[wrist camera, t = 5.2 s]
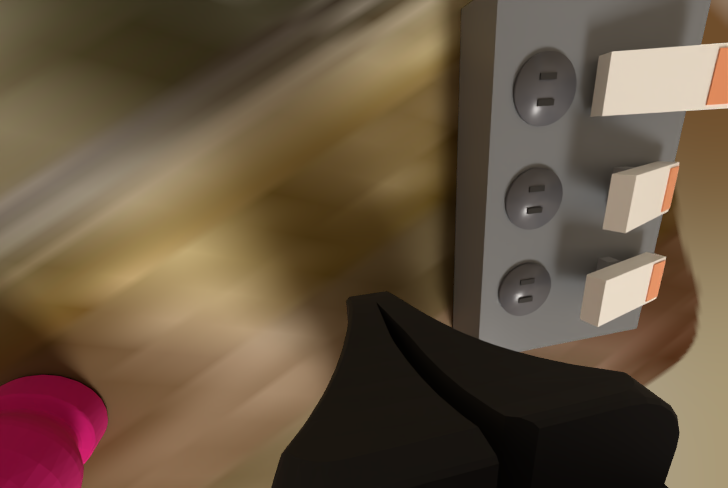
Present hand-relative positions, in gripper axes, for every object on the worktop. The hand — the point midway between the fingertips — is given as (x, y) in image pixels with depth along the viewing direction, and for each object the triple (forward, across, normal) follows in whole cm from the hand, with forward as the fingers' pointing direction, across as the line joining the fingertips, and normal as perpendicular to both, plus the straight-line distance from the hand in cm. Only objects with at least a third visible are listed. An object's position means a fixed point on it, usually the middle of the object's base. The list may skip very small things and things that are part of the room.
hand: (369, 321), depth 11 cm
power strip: (+10, -14, -2) cm, 18 cm away
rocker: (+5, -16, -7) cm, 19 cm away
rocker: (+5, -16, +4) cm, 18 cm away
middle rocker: (+5, -16, -2) cm, 17 cm away
